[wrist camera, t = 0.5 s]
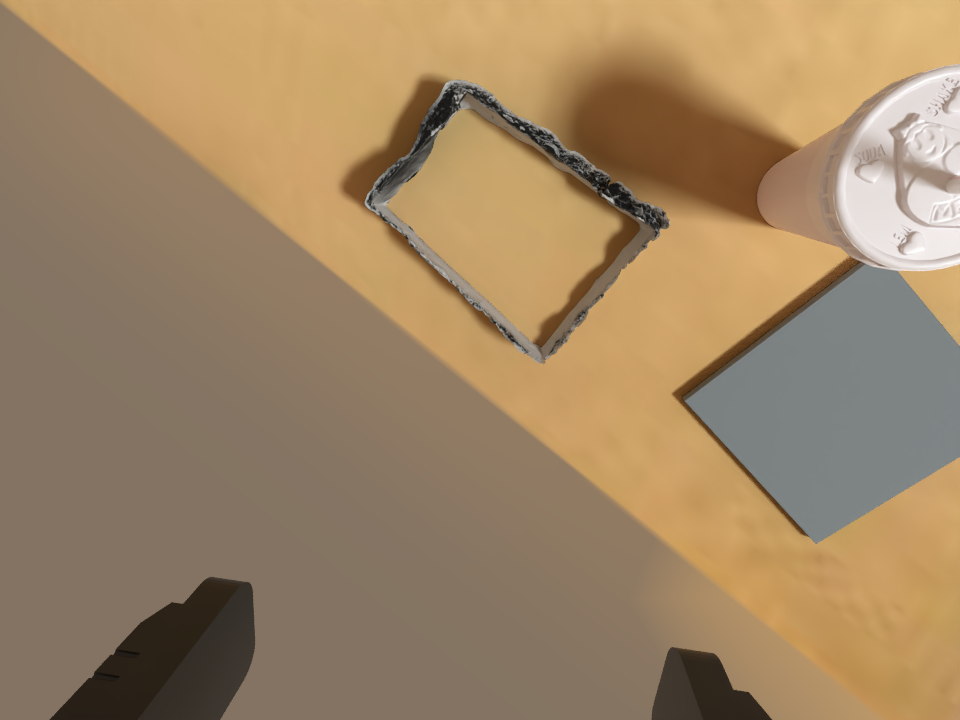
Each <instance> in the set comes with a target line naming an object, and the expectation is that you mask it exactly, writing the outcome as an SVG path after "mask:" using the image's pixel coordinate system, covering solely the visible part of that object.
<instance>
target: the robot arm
mask: <svg viewBox="0 0 960 720" xmlns="http://www.w3.org/2000/svg"><path fill="white" fill-rule="evenodd" d="M253 609H254V608H253V590H252V586H251V584H250V583H249V582H242V581H236V580H228V579H222V578H215V577H209V578H207V579H206V580H204V581H203V582H202V583H201V584H200V586H198V588H197V589H196V590H195V591H194V592H193V593H192V595H191V596H190V597H189V598H188V599H187V600H186V601H185V603H184V604H179V603H173V602H172V603H170V604H169V605H167V606H166V607H164V608H163V609H161V610H159V611H158V612H156V613H155V614H153V615H152V616H150V617H149V618H147V619H146V620H144V621H143V622H141V623H140V624H139V625H138V626H137V627H136V628H135V629H134V630H133V632H132V633H131V634H130V635H129V636H128V637H127V638H126V639H125V640H124V641H123V642H122V643H121V644H120V646H118V648H117V649H116V651H115V653H114V655H110V656H109V657H108V658H107V659H106V660H105V661H104V662H103V663H102V665H101V666H100V667H99V668H98V669H97V670H96V671H95V673H94V676H93V677H92V678H89V679H88V680H87V681H86V682H85V683H84V684H83V685H82V686H81V687H80V688H79V689H78V690H77V691H76V692H75V693H74V694H73V696H72V697H71V698H70V699H69V700H68V701H67V702H66V703H65V704H64V705H63V706H62V707H61V708H60V709H59V710H58V711H57V713H56V714H55V715H54V716H53V717H52V718H51V719H50V720H220V719H221V717H222V716H223V714H224V712H225V711H226V709H227V707H228V706H229V704H230V702H231V700H232V699H233V697H234V696H235V694H236V692H237V691H238V689H239V687H240V685H241V684H242V682H243V681H244V678H245V676H246V675H247V672H248V670H249V667H250V665H251V661H252V658H253V654H254V649H255V630H254V610H253ZM652 720H772V719H771V718H770V717H769V716H768V714H767V713H766V712H765V711H764V710H763V708H762V707H761V706H760V705H759V704H758V703H757V701H756V700H755V699H754V698H753V697H752V695H750V693H749V692H744V691H737V690H733V688H732V686H731V683H730V681H729V679H728V677H727V674H726V672H725V670H724V668H723V665H722V663H721V661H720V659H719V658H718V657H717V656H716V655H715V654H714V653H707V652H701V651H693V650H687V649H680V648H674V647H672V648H670V650H669V651H668V654H667V657H666V661H665V665H664V668H663V672H662V675H661V679H660V683H659V686H658V690H657V694H656V697H655V701H654V705H653V710H652Z"/></svg>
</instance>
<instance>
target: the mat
mask: <svg viewBox="0 0 960 720" xmlns="http://www.w3.org/2000/svg"><path fill="white" fill-rule="evenodd" d="M682 398H683V400H684V401H685V402H686V403H687V404H688V405H689V406H690V407H691V409H692V410H693V411H694V412H695V413H696V414H697V415H698V416H699V417H700V418H701V419H702V421H703V422H704V423H705V424H706V425H707V426H708V427H709V428H710V429H711V430H712V431H713V433H714V434H715V435H716V436H717V437H718V438H719V439H720V440H721V441H722V442H723V443H724V444H725V446H726V447H727V448H728V449H729V450H730V451H731V452H732V453H733V454H734V455H735V456H736V458H737V459H738V460H739V461H740V462H741V463H742V464H743V465H744V466H745V467H746V468H747V470H748V471H749V472H750V473H751V474H752V475H753V476H754V477H755V478H756V479H757V480H758V481H759V483H760V484H761V485H762V486H763V487H764V488H765V489H766V490H767V491H768V492H769V493H770V495H771V496H772V497H773V498H774V499H775V500H776V501H777V502H778V503H779V504H780V505H781V507H782V508H783V509H784V510H785V511H786V512H787V513H788V514H789V515H790V516H791V517H792V519H793V520H794V521H795V522H796V523H797V524H798V525H799V526H800V527H801V528H802V529H803V530H804V532H805V533H806V534H807V535H808V536H809V537H810V538H811V539H812V540H813V541H814V542H815V544H817V543H818V542H820V541H822V540H823V539H825V538H827V537H828V536H830V535H832V534H833V533H835V532H837V531H838V530H840V529H842V528H843V527H845V526H847V525H848V524H850V523H851V522H853V521H855V520H856V519H858V518H860V517H861V516H863V515H865V514H866V513H868V512H870V511H871V510H873V509H875V508H876V507H878V506H880V505H881V504H883V503H884V502H886V501H888V500H889V499H891V498H893V497H894V496H896V495H898V494H899V493H901V492H903V491H904V490H906V489H908V488H909V487H911V486H913V485H914V484H916V483H917V482H919V481H921V480H922V479H924V478H926V477H927V476H929V475H931V474H932V473H934V472H936V471H937V470H939V469H941V468H942V467H944V466H946V465H947V464H949V463H950V462H952V461H954V460H955V459H957V458H959V457H960V346H959V345H958V344H957V343H956V341H955V340H954V339H953V338H952V337H951V335H950V334H949V333H948V332H947V330H946V329H945V328H944V327H943V326H942V324H941V323H940V322H939V321H938V320H937V318H936V317H935V316H934V315H933V314H932V312H931V311H930V310H929V309H928V308H927V306H926V305H925V304H924V303H923V301H922V300H921V299H920V298H919V297H918V295H917V294H916V293H915V292H914V291H913V289H912V288H911V287H910V286H909V285H908V283H907V282H906V281H905V280H904V279H903V277H902V276H901V275H900V274H899V273H898V271H894V270H888V269H882V268H876V267H872V266H869V265H867V264H865V263H863V262H859V263H858V264H857V265H855V266H854V267H853V268H852V269H850V270H849V271H848V272H846V273H845V274H844V275H842V276H841V277H840V278H838V279H837V280H836V281H834V282H833V283H832V284H831V285H829V286H828V287H827V288H825V289H824V290H823V291H821V292H820V293H819V294H817V295H816V296H815V297H813V298H812V299H811V300H810V301H808V302H807V303H806V304H804V305H803V306H802V307H800V308H799V309H798V310H796V311H795V312H794V313H792V314H791V315H790V316H788V317H787V318H786V319H785V320H783V321H782V322H781V323H779V324H778V325H777V326H775V327H774V328H773V329H771V330H770V331H769V332H767V333H766V334H765V335H764V336H762V337H761V338H760V339H758V340H757V341H756V342H754V343H753V344H752V345H750V346H749V347H748V348H746V349H745V350H744V351H743V352H741V353H740V354H739V355H737V356H736V357H735V358H733V359H732V360H731V361H729V362H728V363H727V364H725V365H724V366H723V367H722V368H720V369H719V370H718V371H716V372H715V373H714V374H712V375H711V376H710V377H708V378H707V379H706V380H704V381H703V382H702V383H700V384H699V385H698V386H697V387H695V388H694V389H693V390H691V391H690V392H689V393H687V394H686V395H685V396H683V397H682Z"/></svg>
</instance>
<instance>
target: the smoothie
mask: <svg viewBox="0 0 960 720" xmlns="http://www.w3.org/2000/svg"><path fill="white" fill-rule="evenodd" d="M757 205H758V209H759V212H760V214H761V216H762V217H763V219H764V220H765V221H766V222H767V223H768V224H770V225H771V226H773V227H775V228H777V229H781V230H784V231H787V232H791V233H794V234H797V235H801V236H804V237H807V238H810V239H814V240H817V241H820V242H824V243H827V244H830V245H834V246H837V247H840V248H842V249H843V250H844V251H845V252H846V253H847V254H848V255H849V256H851V257H852V258H855V259H857V260H859V261H861V262H863V263H865V264H867V265H869V266H872V267H876V268H882V269H888V270H894V271H903V270H909V271H929V270H937V269H943V268H947V267H951V266H955V265H958V264H960V64H956V65H950V66H944V67H940V68H936V69H933V70H930V71H927V72H922V73H918V74H915V75H913V76H910V77H907V78H905V79H902V80H900V81H897V82H895V83H892V84H890V85H888V86H887V87H885V88H884V89H882V90H881V91H879V92H878V93H876V94H875V95H873V96H872V97H870V98H869V99H867V100H866V101H864V102H863V103H862V105H861V106H860V107H859V108H858V109H857V110H856V111H855V112H854V113H853V114H852V115H851V116H850V117H849V118H848V119H847V120H846V121H845V122H844V123H843V124H841V125H839V126H838V127H836V128H834V129H833V130H831V131H829V132H828V133H826V134H824V135H823V136H821V137H819V138H818V139H816V140H814V141H813V142H811V143H809V144H808V145H806V146H804V147H803V148H801V149H799V150H798V151H796V152H794V153H792V154H791V155H789V156H787V157H786V158H784V159H782V160H781V161H779V162H778V163H776V164H775V165H774V166H772V167H771V168H770V169H769V170H768V171H767V173H766V174H765V175H764V177H763V179H762V181H761V183H760V185H759V188H758V192H757Z"/></svg>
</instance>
